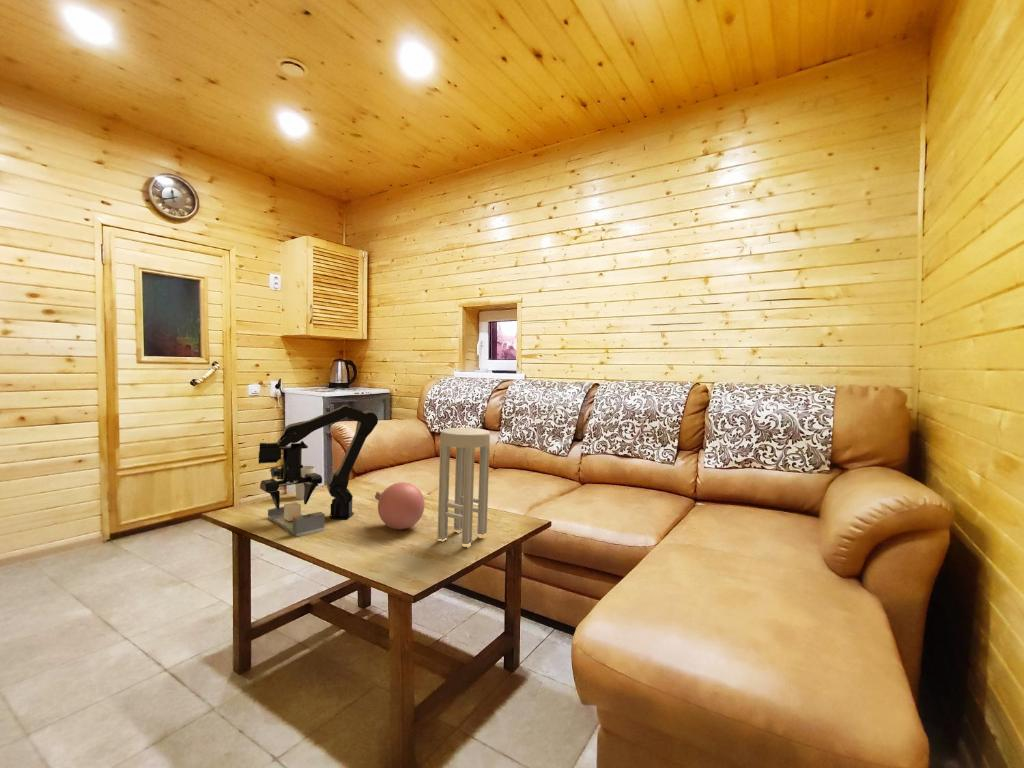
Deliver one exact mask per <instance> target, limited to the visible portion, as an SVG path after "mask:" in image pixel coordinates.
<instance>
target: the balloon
mask: <svg viewBox="0 0 1024 768" xmlns="http://www.w3.org/2000/svg"><path fill="white" fill-rule="evenodd" d="M374 498H375V500H376V501H378V503H377V512H378V515H379V516H378V517H379V518H380V520H381V521H382V522H383V523H384V525H385V526H388V527H389V528H392V529H393V530H394V529H395V530H406V529H409V528H412V527H413V526H414V525H416V524H417V523H418V522H419V521H420V520H421V518H422V517H423V515H424V511H425V507H426V505H425V504H426V503H425V498H424V495H423V493H422V491H421V490H420V489H419V488H418V487H417V486H416V485H414V484H412V483H410V482H402V481H401V482H397V483H393V484H391V485H390V486H387V488H385V489H384V490H383V491H382V492H380V491H376V492H375V495H374Z"/></svg>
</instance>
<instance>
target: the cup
mask: <svg viewBox="0 0 1024 768" xmlns="http://www.w3.org/2000/svg"><path fill="white" fill-rule="evenodd" d="M310 473H316V466H315V465H303V468H301V476H302V477H304V476H305V474H310ZM294 485H295V486H294V487H295V499H296V500H303V501H304V490H305V488H304V483H299V484H294ZM313 498H314V491H313V492H312V494H311V496H310V498H309V500H310V499H313Z"/></svg>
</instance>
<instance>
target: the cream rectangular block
mask: <svg viewBox="0 0 1024 768" xmlns="http://www.w3.org/2000/svg"><path fill="white" fill-rule="evenodd" d="M283 507H284V519H286V520H288V521H292V520H293V517H297V516H301V514H302V513H301V512H302V511H301V510H302V505H301V504H300V503H298V502H296V501H295V502H290V503H284V504H283Z"/></svg>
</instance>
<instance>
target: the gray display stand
mask: <svg viewBox="0 0 1024 768" xmlns="http://www.w3.org/2000/svg"><path fill="white" fill-rule="evenodd" d="M267 519H268V520H270V521H272V522H273V523H275V524H276V525H277V526H279V527H281V528H282V529H283V530H285V531H286V532H288V533H289V534H291V535H293V536H294V537H295V538H298V537H302V536H306V535H310V534H311V535H312V534H314V533H315V534H316V533H319V532H324V531H325V513H323V512H322V511H317V512H313V513H309V514H307V513H306V514H302V513H301V516H297V517H293V520H292V521H288V520H286V519H284V506H279V510H277V509H276V507H275V508H269V509H267Z"/></svg>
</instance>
